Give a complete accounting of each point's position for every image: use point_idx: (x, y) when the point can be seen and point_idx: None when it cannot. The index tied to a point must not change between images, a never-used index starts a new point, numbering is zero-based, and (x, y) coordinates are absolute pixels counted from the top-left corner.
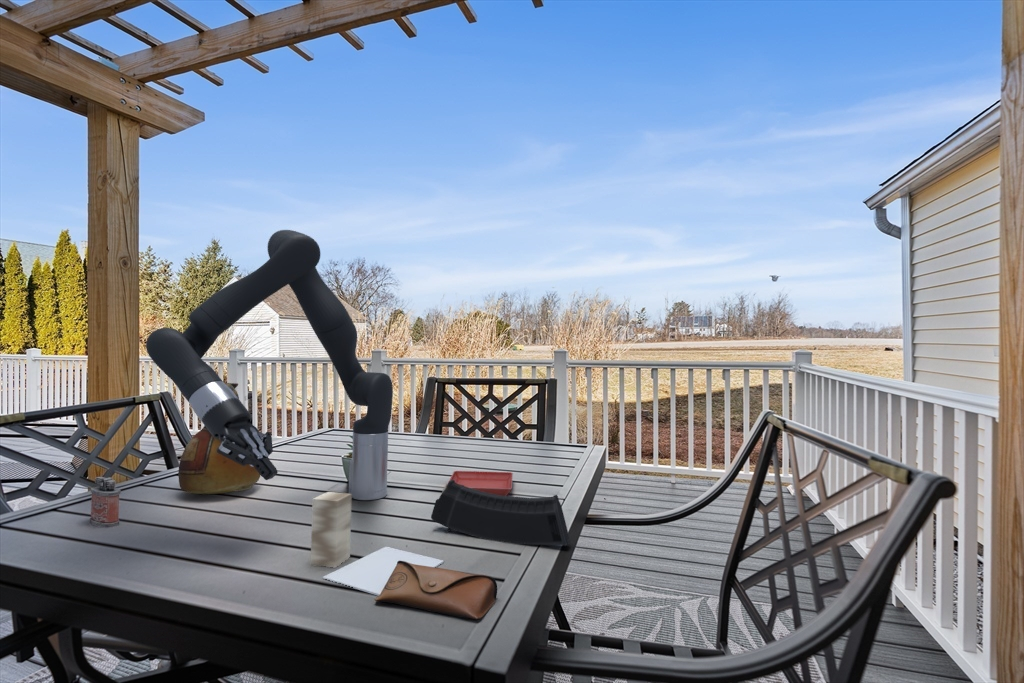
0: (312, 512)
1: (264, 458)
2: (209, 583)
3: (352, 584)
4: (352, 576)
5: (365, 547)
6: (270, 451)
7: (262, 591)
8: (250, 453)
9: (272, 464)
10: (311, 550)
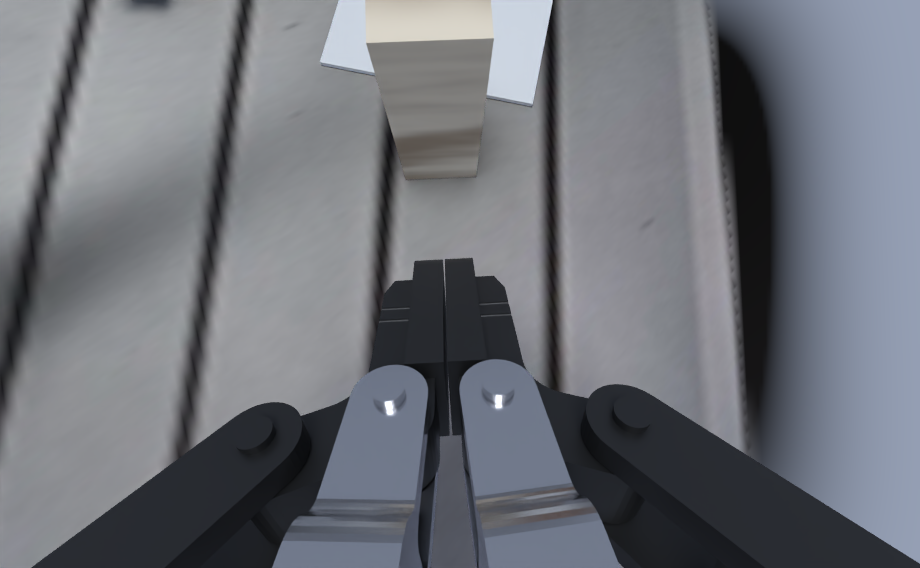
0: (488, 80)
1: (451, 357)
2: (647, 333)
3: (541, 28)
4: (507, 47)
5: (330, 114)
6: (276, 418)
7: (630, 188)
8: (630, 444)
9: (411, 300)
10: (478, 156)
